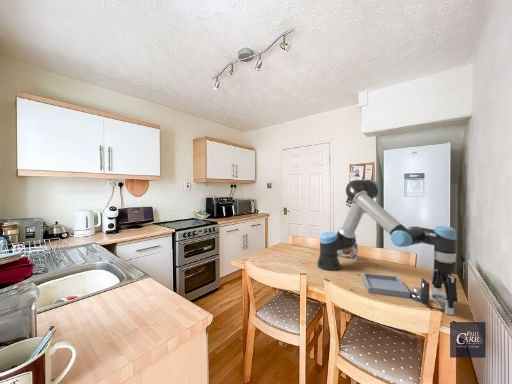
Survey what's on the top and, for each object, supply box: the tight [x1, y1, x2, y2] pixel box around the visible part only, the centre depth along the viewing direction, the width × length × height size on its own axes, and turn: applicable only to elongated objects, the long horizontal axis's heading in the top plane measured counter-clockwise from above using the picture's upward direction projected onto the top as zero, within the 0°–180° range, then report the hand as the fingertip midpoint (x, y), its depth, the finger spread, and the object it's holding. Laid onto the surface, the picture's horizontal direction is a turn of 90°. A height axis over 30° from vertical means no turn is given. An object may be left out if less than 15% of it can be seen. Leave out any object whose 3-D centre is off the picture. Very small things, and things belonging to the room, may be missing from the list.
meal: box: [337, 242, 359, 261], centre depth 166 cm, size 15×4×13 cm, turn 53°
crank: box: [412, 278, 430, 306], centre depth 104 cm, size 12×4×11 cm, turn 163°
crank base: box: [409, 291, 421, 303], centre depth 108 cm, size 6×6×2 cm
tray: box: [361, 272, 411, 299], centre depth 120 cm, size 19×19×3 cm
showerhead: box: [429, 289, 457, 310], centre depth 100 cm, size 9×7×10 cm
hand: (443, 307), depth 100 cm, fingers closed on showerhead, 9 cm apart
